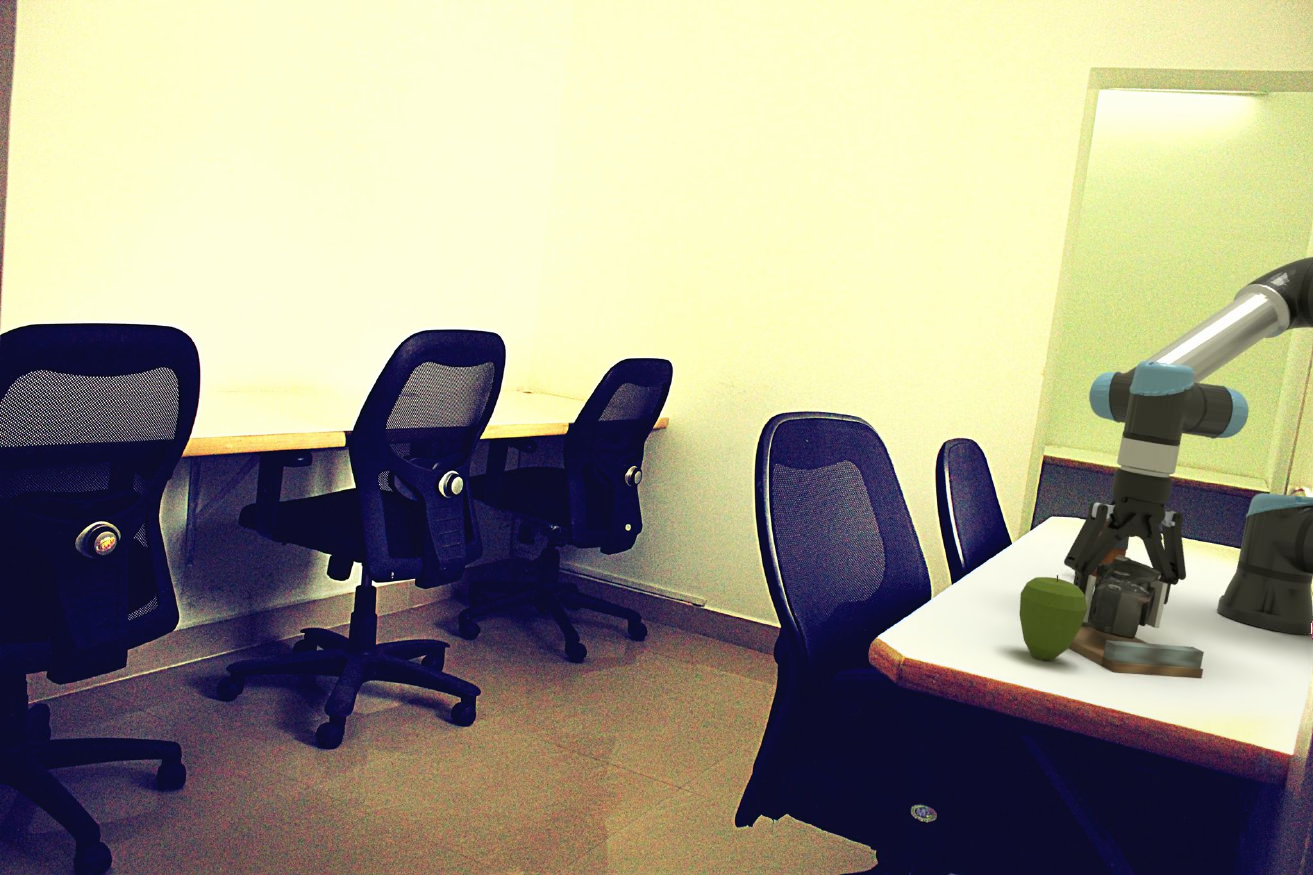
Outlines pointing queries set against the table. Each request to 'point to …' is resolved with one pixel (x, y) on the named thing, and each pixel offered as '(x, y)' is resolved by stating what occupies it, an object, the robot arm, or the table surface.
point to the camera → (1122, 597)
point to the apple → (1050, 615)
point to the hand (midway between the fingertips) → (1115, 622)
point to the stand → (1136, 654)
